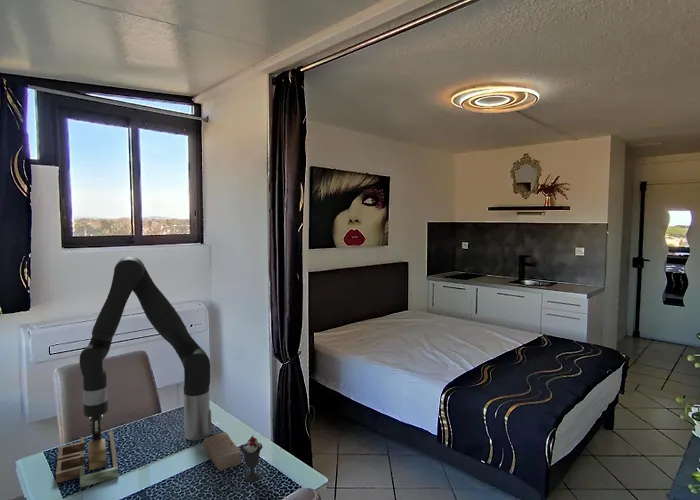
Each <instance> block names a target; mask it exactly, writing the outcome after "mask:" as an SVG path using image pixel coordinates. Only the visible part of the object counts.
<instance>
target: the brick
mask: <svg viewBox="0 0 700 500" xmlns="http://www.w3.org/2000/svg"><path fill="white" fill-rule="evenodd" d="M203 439H204V440H203V449H204V452H205V453H206V454H207V455H206V456H208V458H209V459H210V460H211V462H212V463H213V464H214V466H215V467H216V469H217V470H218V471H222V470H226V469H229V468H231V466H232V467H236V466H238V464H239V465H240V464H242V461H241V460H242V451H241V449H240V448H239V447H238V446H237V445H236V444H235V443H234V442H233V439H231V437H230V436H229V434H228V433H227V432H225V431H224V432H223V431H222V432H220V433H217V434H214V435H210V436H207V437H206V438H203ZM235 465H236V466H235Z"/></svg>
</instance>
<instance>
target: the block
mask: <svg viewBox="0 0 700 500" xmlns="http://www.w3.org/2000/svg"><path fill="white" fill-rule="evenodd" d="M87 449H88V471H92V470H96V469H100V468H103V467H107V447H106V439H105V437H104V438H101V439H99V440H95V441H93V440H91V441H88V442H87Z"/></svg>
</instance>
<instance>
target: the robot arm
mask: <svg viewBox="0 0 700 500" xmlns="http://www.w3.org/2000/svg"><path fill="white" fill-rule="evenodd" d="M113 268H114V269H113V275H112V281H111V286H110V289H109V291H108V295H107V298H106V300H105V302H104V303H103V305H102V307H101V309H100V312H99V314H98V315H97V317H96V320H95V323H94V325H93V328H92V330H91V339H90V341H89V343H88V345H87V346H85V348H84V349H83V350H82V351H81V352H80V354H79V367H80V371H81V374H82V377H83V378H82V379H83V380H82V382H83V384H82V387H83V389H82V390H83V393H82V409H83V410H82V412H83V416H84V417H86V418H89V427H90V433H91V435H92V441H95V440H99V439H102V431H103V424H104V420H103V419H104V417H103V415H104V414H105V415H106V413H107V412H108V411H109V394H108V393H109V392H108V391H109V390H108V386H107V384H108V383H107V373H106V371H105V370H104V369H103V361H104V360H105V359H106V358H107V356H108V353H109V351H110V349H111V345H112V342H113V338H114V335H116V332H117V330H118V326H119V324H120V321H121V320H122V315H124V314H123V313H124V311H125V307H126V305H127V303H128V301H129V297H130V296H131V294H132V292H133V293H134V294H135V296H136V297H137V299H138V301H139V303H140V306H141V309H142V310H143V313H144V314H145V316H146V318H147V319H148V322H150V324H151V325H152V326H153V328H154V329H155V331H156V332H158V334H159V335H160V336H161V337H162V338H163V339H164V340H165V341H166V342H167V343H169V344H170V346H171V347H172V348H173V349H174V351H175V352H176V354H177V356H178V358H179V359H180V361H181V364H182V367H183V373H184V376H183V377H184V381H183V384H184V385H183V416H184V417H183V419H184V421H183V423H184V427H183V428H184V438H185V439H186V440H187V441H200V440H203V439H205V438H208V437H210V436H212V410H211V408H210V404H211V403H210V385H211V360H210V358H209V356H208V355H207V353H206V351H205V350H204V349H203V348H202V347H201V346H200V345H199V344H198V343H197V342H196V341H195V340H194V338H193V337H192V335H191V334H190V333H189V331H188V330H187V327H186V325H185V323H184V321H183V320H182V318H181V316H180V315H179V313H178V311H176V309H175V307H173V305H172V303H171V302H170V301H169V300H168V299H167V297H166V296H165V295H164V294H163V292H162V291H161V290H160V289H159V288H158V286H156V284H155V283H154V280H153V279H152V277H151V276H150V274H149V272H148V270H147V268H146V267H145V264H144V262H143V261H142V260H141V259H139V258H138V257H136V256H130V255H129V256H128V255H127V256H124V257H121V259H119V260H118V261H117V263H116V264H115V266H114V267H113Z"/></svg>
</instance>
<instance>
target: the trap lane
mask: <svg viewBox="0 0 700 500" xmlns="http://www.w3.org/2000/svg"><path fill="white" fill-rule="evenodd" d="M108 432H109V435H108V436H109V437H108V438H109V439H108V440H109V445H110V446H109V447H110V454H111V455H110V456H111V463H112V464H111V465H112V467H110V468H105V469H103V470H99V471H96V472H92V473H87V474H85V463H86V462H85V459H86V458H85V452H86V451H85V450H86V449H85V446H86V445H85V436H81V437H80V438H79V440H80V441H79V442H75V443H71V444H67V445H62V446H59V447H58V450H57V462H56V469H55V482H56V484H59V483H63V482H67V481H71V480H75V479H77V478H79V487H80V488H84V487H87V486H91V485H94V484H98V483H103V482H106V481H109V480H113V479H116V478H119V466H118V459H117V452H116V451H117V450H116V443H115V436H114V430H109V431H108Z"/></svg>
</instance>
